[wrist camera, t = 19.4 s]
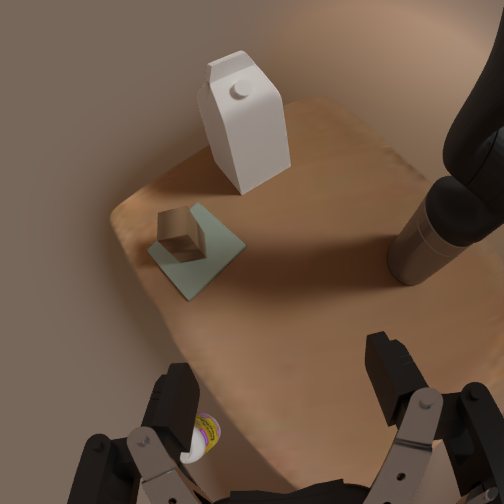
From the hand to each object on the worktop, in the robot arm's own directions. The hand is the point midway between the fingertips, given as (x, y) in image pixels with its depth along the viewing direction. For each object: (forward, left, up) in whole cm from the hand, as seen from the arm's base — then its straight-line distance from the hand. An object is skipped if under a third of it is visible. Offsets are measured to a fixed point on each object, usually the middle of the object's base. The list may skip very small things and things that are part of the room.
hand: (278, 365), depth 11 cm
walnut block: (-2, -26, -32) cm, 41 cm away
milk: (-23, -32, -33) cm, 51 cm away
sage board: (-2, -26, -33) cm, 42 cm away
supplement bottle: (+19, -1, -33) cm, 38 cm away
